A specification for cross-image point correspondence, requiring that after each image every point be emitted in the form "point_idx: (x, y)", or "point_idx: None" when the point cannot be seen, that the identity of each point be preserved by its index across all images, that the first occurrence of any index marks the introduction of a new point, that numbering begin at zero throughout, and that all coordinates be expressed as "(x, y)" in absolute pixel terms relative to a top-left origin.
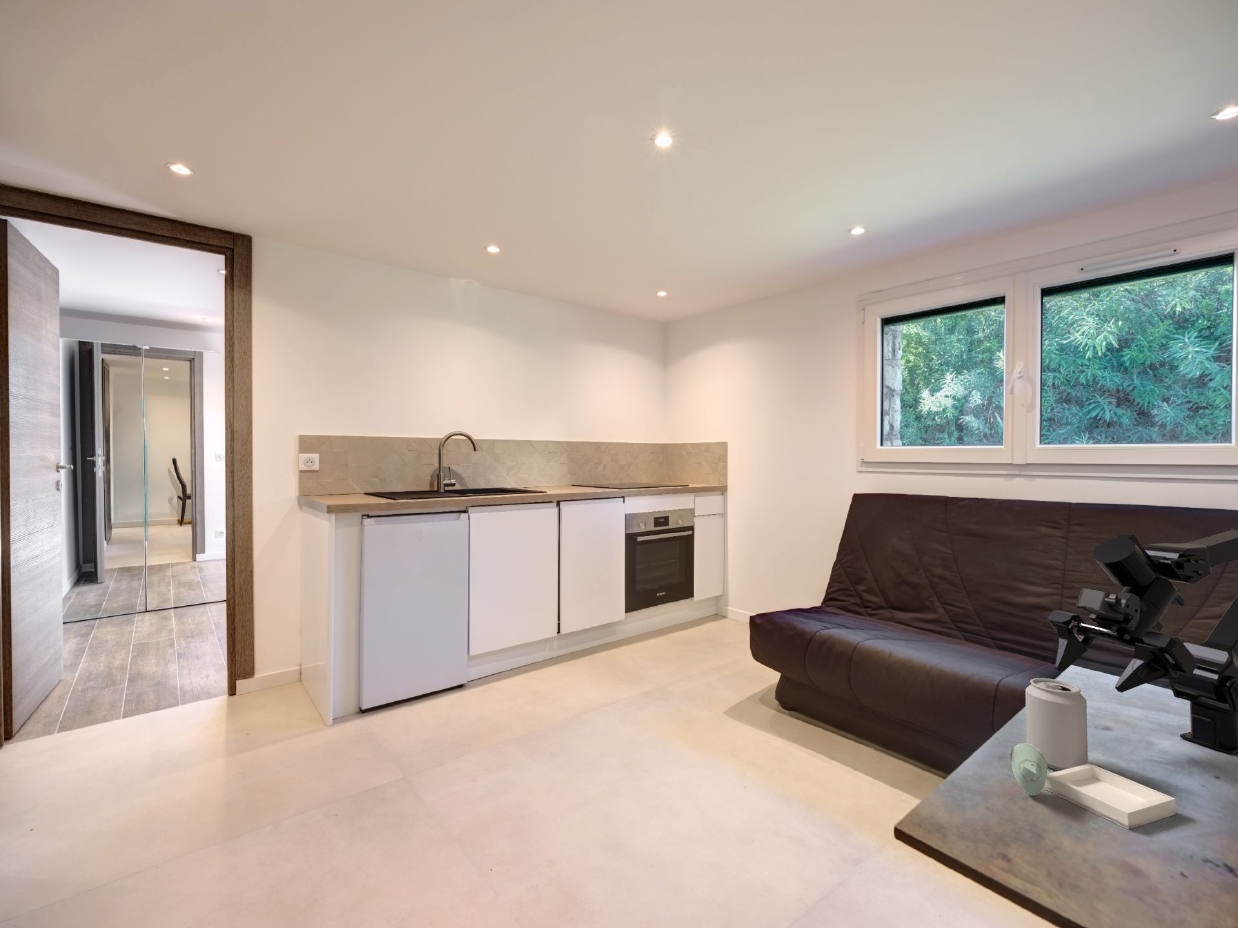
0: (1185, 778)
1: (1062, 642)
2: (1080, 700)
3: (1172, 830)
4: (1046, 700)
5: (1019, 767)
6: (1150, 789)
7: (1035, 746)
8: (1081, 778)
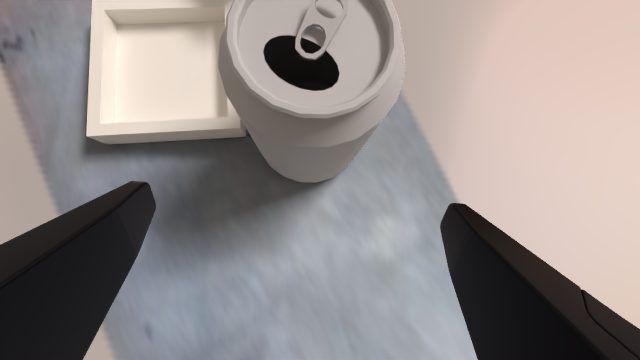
0: (179, 331)
1: (635, 346)
2: (223, 57)
3: (82, 84)
4: None
5: None
6: (125, 129)
7: (316, 70)
8: None
